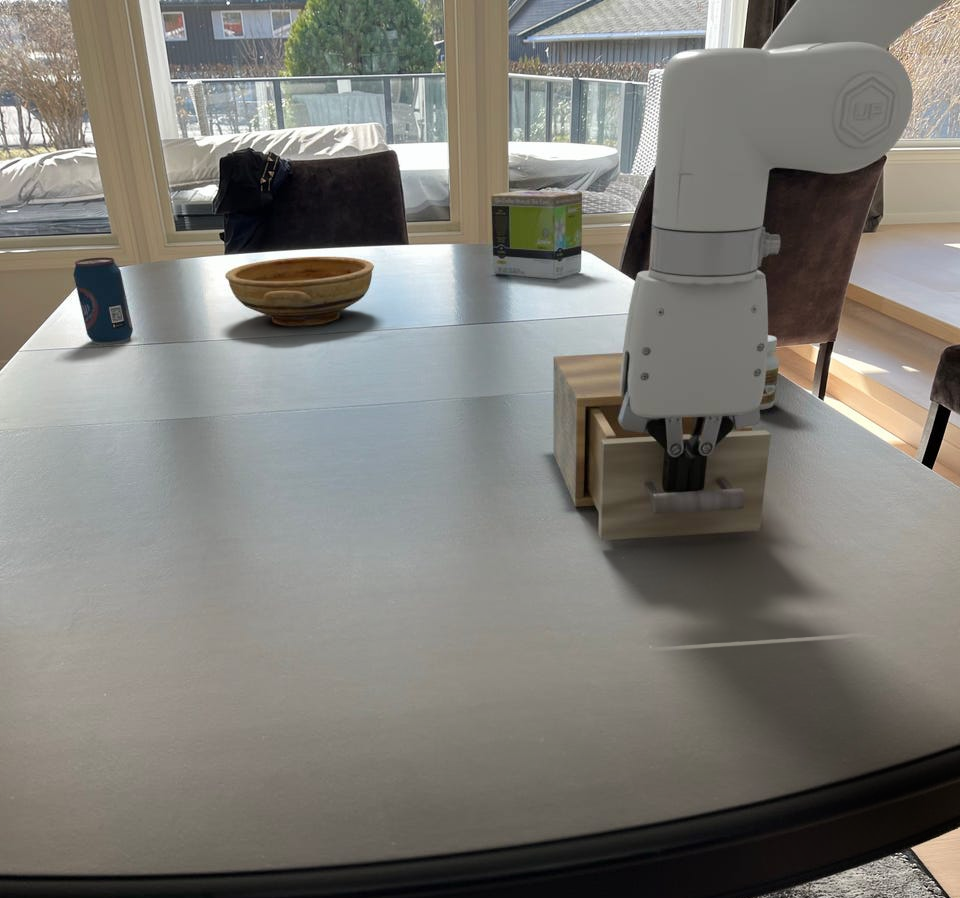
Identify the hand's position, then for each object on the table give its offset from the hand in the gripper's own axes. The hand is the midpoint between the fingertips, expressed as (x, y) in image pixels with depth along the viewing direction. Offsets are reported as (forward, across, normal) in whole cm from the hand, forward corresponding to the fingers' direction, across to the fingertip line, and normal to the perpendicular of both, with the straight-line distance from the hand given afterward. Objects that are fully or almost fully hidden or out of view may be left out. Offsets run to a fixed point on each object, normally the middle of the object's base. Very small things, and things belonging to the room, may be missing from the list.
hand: (681, 498), depth 78 cm
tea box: (+5, -4, -131) cm, 131 cm away
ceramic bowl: (+6, +39, -99) cm, 107 cm away
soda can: (+6, +69, -90) cm, 114 cm away
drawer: (+4, -1, -6) cm, 7 cm away
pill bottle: (+5, -19, -38) cm, 43 cm away
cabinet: (+5, -1, -18) cm, 19 cm away
